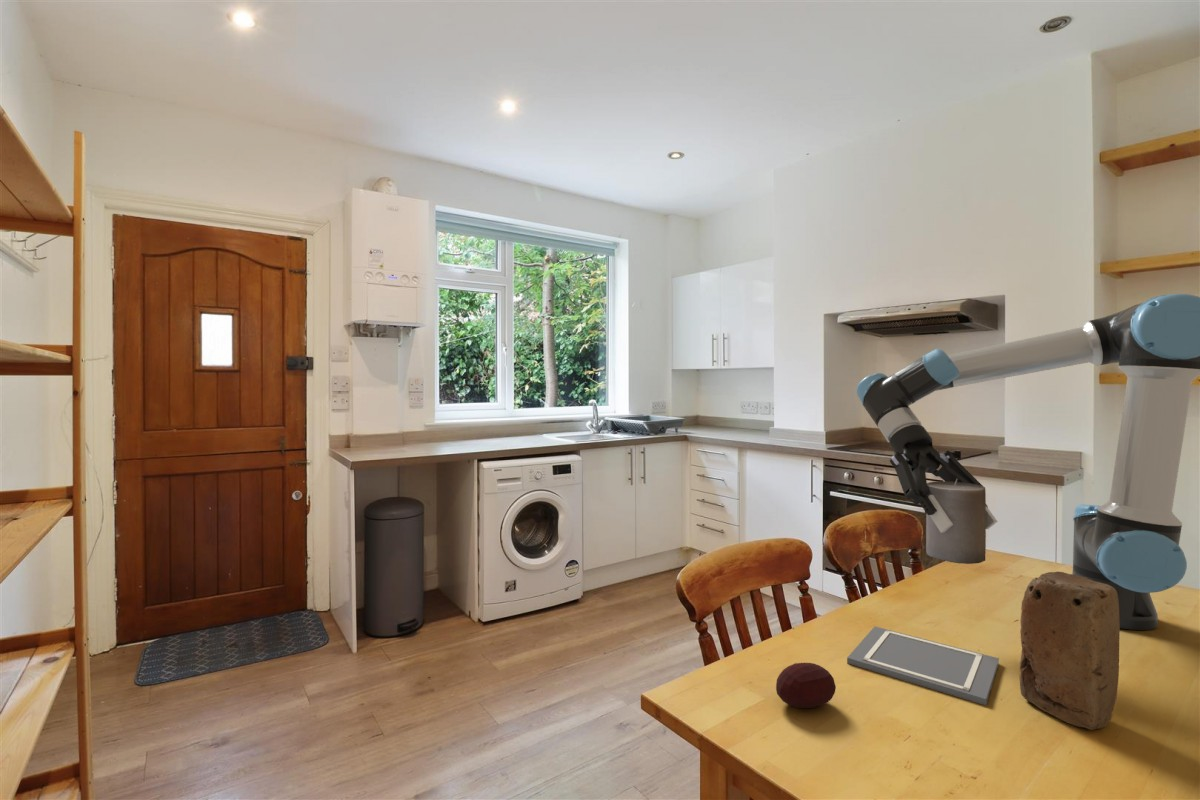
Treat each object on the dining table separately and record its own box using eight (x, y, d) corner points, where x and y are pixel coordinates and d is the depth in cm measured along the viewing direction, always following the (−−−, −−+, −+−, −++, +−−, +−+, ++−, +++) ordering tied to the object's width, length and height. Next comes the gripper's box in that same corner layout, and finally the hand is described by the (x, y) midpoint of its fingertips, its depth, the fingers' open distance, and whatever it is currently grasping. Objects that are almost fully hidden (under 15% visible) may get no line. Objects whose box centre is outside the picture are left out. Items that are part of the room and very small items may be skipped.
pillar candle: (976, 552, 113) (977, 475, 112) (992, 566, 103) (993, 483, 103) (920, 548, 116) (921, 473, 116) (931, 561, 107) (931, 481, 106)
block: (1123, 726, 81) (1127, 585, 81) (1094, 739, 78) (1098, 593, 78) (1037, 688, 91) (1041, 563, 91) (1009, 699, 88) (1012, 570, 87)
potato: (845, 715, 83) (846, 674, 83) (788, 721, 82) (788, 680, 82) (817, 688, 91) (817, 651, 91) (764, 693, 89) (764, 655, 89)
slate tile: (998, 663, 99) (998, 657, 99) (985, 705, 86) (986, 698, 86) (874, 631, 112) (874, 625, 112) (847, 663, 99) (847, 656, 99)
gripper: (937, 444, 127) (1002, 533, 112) (851, 446, 121) (908, 541, 106) (958, 422, 122) (1030, 512, 107) (869, 423, 116) (932, 519, 101)
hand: (969, 527), depth 106 cm, fingers closed on pillar candle, 9 cm apart
